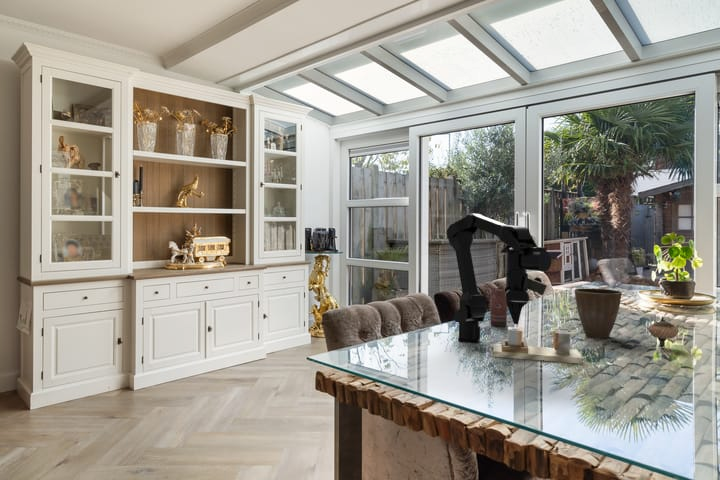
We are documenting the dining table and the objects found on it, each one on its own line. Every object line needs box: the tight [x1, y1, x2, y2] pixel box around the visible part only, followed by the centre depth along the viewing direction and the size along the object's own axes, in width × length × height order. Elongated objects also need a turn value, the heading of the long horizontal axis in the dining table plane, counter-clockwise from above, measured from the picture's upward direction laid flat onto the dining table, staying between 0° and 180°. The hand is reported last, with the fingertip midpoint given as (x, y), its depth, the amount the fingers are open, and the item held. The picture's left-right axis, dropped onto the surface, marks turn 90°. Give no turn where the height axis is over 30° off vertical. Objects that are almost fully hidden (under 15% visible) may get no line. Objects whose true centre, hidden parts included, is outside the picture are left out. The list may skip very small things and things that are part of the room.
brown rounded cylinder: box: [489, 288, 508, 327], centre depth 189 cm, size 6×6×14 cm
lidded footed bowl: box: [647, 316, 679, 349], centre depth 155 cm, size 8×8×10 cm
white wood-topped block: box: [507, 326, 523, 347], centre depth 145 cm, size 4×5×6 cm
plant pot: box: [574, 288, 623, 339], centre depth 171 cm, size 15×15×16 cm
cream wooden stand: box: [492, 329, 584, 364], centre depth 144 cm, size 24×10×8 cm, turn 75°
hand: (515, 321), depth 145 cm, fingers open, 9 cm apart
